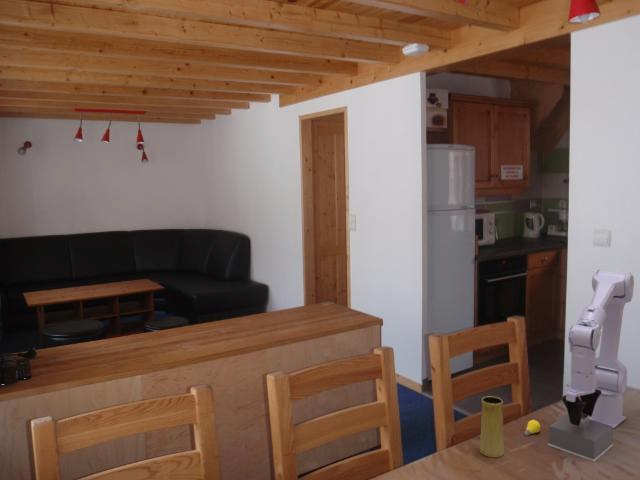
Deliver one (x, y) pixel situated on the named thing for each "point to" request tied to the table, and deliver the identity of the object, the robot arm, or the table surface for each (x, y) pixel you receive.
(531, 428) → the light bulb
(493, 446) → the vase
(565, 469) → the table surface
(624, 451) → the table surface
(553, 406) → the table surface
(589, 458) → the mat
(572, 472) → the table surface
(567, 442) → the cover
